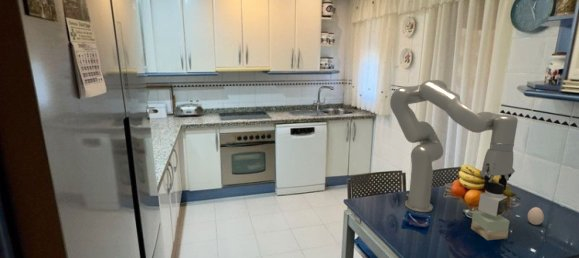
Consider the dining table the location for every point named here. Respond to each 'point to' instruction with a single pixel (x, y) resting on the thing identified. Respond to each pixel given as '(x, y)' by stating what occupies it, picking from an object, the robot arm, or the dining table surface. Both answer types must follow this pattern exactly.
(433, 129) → the robot arm
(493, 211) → the medicine bottle
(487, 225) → the block top
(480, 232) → the block bottom
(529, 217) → the egg
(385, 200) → the dining table surface
